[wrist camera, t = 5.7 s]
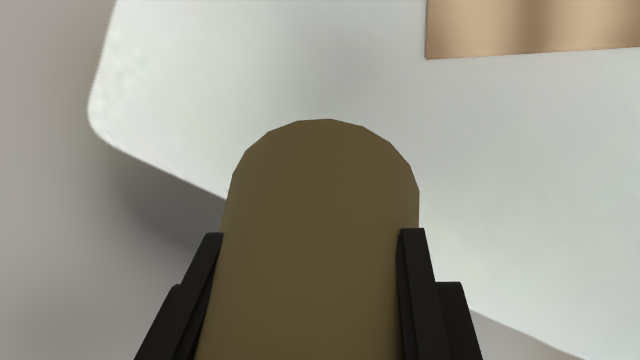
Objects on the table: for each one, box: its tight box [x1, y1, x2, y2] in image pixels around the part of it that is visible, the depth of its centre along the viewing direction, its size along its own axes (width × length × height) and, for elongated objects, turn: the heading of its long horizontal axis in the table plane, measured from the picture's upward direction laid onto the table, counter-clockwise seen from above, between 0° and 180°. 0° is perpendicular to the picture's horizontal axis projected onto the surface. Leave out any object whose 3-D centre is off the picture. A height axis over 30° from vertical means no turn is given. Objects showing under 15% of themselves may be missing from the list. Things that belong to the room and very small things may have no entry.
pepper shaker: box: [193, 119, 419, 360], centre depth 9 cm, size 6×6×11 cm
